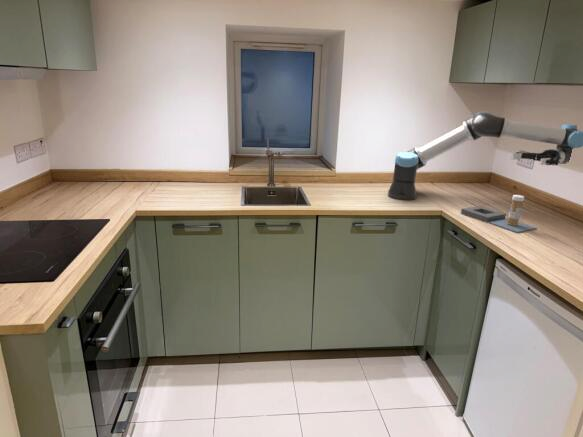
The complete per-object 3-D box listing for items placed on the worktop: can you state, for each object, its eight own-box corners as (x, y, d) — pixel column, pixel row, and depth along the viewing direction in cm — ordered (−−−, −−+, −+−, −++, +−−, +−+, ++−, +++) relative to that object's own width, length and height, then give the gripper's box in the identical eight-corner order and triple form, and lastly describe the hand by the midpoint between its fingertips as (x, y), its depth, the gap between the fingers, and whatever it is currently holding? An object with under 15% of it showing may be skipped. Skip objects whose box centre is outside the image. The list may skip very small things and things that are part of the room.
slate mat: (488, 223, 186) (488, 221, 186) (507, 219, 193) (507, 218, 193) (517, 233, 175) (517, 231, 174) (536, 229, 181) (536, 227, 181)
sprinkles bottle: (504, 222, 185) (510, 194, 181) (513, 223, 186) (520, 194, 182) (510, 226, 181) (517, 197, 177) (520, 226, 182) (527, 197, 177)
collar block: (460, 213, 198) (461, 208, 197) (479, 210, 205) (480, 205, 204) (486, 222, 187) (487, 217, 186) (505, 218, 194) (506, 213, 193)
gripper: (577, 169, 190) (551, 172, 180) (525, 160, 211) (500, 162, 201) (581, 153, 188) (555, 155, 178) (529, 145, 208) (503, 146, 198)
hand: (526, 159), depth 189 cm, fingers open, 13 cm apart
